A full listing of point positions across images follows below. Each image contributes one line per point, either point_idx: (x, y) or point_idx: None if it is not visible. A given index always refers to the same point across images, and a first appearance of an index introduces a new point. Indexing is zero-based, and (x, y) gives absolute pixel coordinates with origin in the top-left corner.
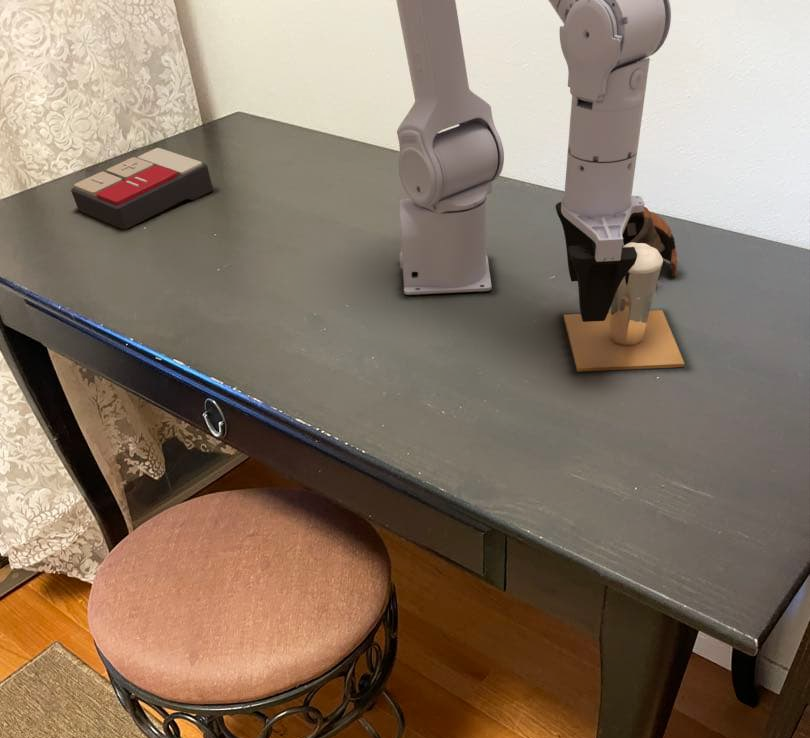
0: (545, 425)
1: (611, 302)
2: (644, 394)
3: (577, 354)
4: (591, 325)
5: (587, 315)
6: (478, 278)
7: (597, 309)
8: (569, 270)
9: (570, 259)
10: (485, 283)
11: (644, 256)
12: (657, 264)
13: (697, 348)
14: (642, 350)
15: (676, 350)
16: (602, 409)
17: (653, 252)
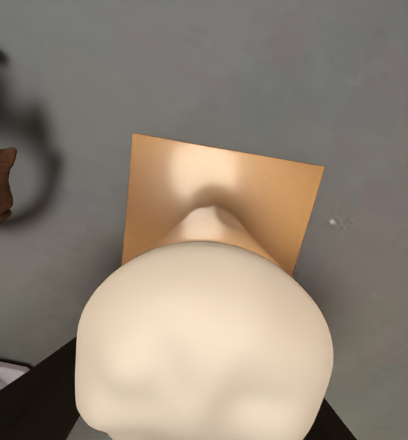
0: (377, 394)
1: (337, 415)
2: (367, 258)
3: None
4: None
5: None
6: (1, 387)
7: None
8: None
9: (63, 436)
10: (13, 376)
11: (283, 415)
12: (323, 323)
13: (270, 115)
14: (260, 222)
15: (279, 164)
16: (376, 324)
17: (261, 361)
